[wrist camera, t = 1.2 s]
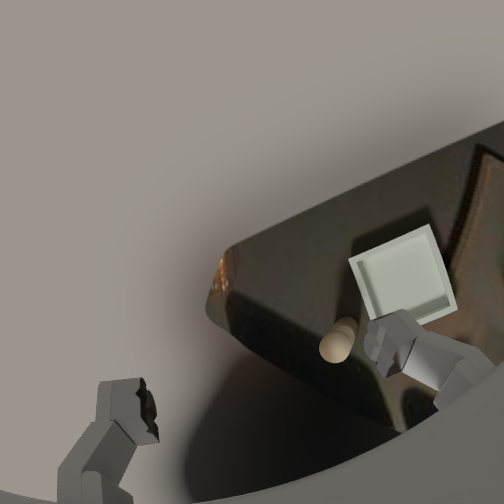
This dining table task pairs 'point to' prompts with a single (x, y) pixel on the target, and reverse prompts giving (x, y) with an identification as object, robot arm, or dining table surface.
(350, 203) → the dining table surface
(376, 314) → the tray
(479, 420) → the robot arm
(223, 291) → the dining table surface
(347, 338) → the dowel
